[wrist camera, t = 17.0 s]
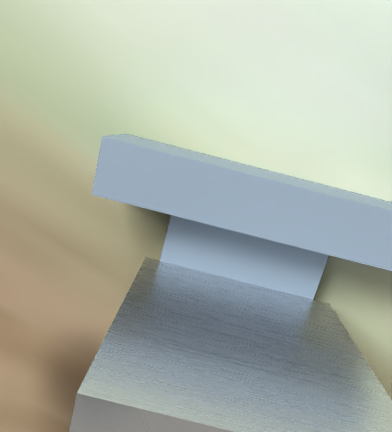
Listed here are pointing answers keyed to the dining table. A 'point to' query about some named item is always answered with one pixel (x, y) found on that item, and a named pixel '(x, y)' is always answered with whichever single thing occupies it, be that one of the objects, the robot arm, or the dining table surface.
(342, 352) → the grey rectangular block
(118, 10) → the dining table surface
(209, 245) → the cradle
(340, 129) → the dining table surface
